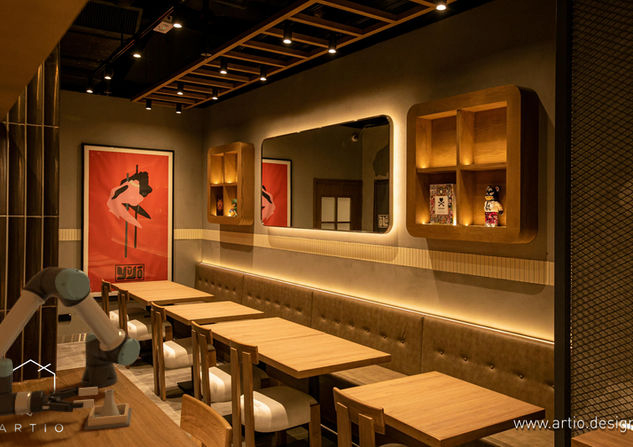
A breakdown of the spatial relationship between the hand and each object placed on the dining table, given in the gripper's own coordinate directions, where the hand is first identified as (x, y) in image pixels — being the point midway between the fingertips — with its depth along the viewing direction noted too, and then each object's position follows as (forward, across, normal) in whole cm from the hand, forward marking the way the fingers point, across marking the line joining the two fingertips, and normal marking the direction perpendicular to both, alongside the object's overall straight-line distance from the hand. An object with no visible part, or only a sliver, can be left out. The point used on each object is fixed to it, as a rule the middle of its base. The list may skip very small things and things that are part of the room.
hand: (95, 396), depth 192 cm
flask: (+5, 0, -8) cm, 10 cm away
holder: (+5, 0, -9) cm, 10 cm away
